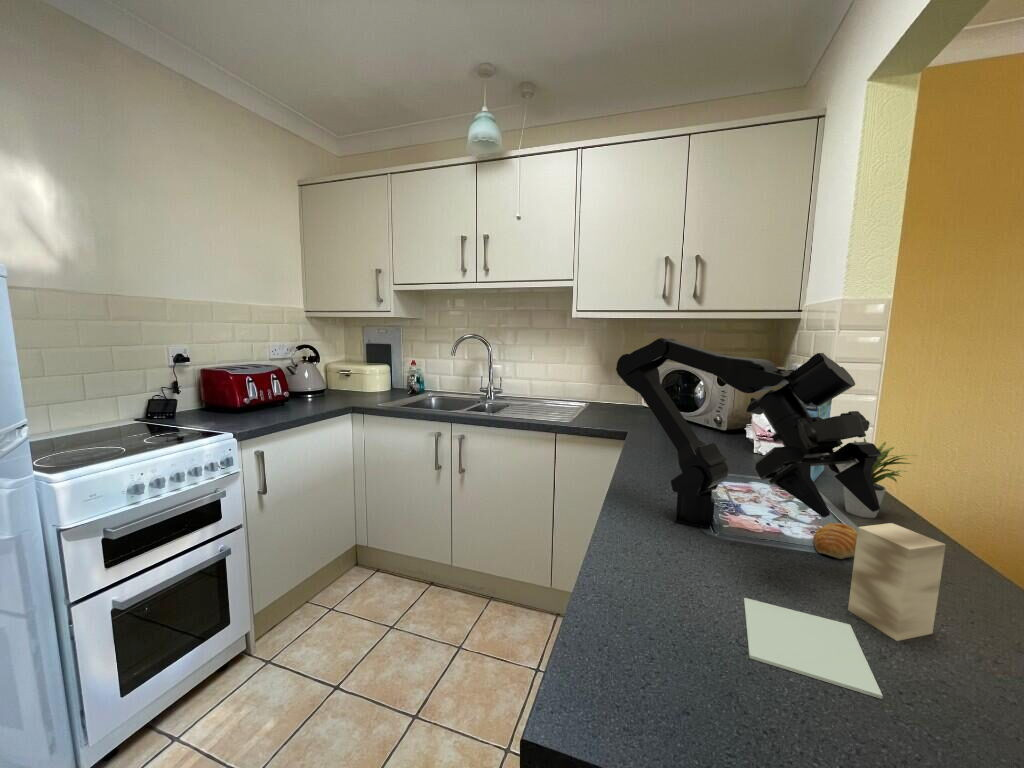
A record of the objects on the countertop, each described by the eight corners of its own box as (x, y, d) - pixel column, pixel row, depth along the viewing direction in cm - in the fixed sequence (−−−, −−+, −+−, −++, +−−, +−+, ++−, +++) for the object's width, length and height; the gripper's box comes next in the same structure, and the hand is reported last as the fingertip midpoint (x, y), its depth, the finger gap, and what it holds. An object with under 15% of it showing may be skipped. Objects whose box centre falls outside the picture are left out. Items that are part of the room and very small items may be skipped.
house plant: (891, 536, 79) (902, 452, 77) (808, 509, 91) (816, 436, 89) (916, 520, 87) (927, 443, 85) (837, 497, 99) (845, 429, 97)
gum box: (803, 467, 122) (811, 388, 119) (825, 471, 118) (834, 390, 115) (786, 482, 108) (795, 394, 105) (810, 488, 104) (819, 397, 102)
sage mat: (749, 658, 49) (749, 654, 49) (743, 600, 59) (744, 597, 59) (882, 699, 43) (882, 695, 43) (849, 627, 54) (850, 624, 54)
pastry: (853, 567, 69) (855, 545, 68) (804, 551, 74) (806, 530, 73) (864, 549, 75) (867, 528, 74) (819, 535, 80) (820, 516, 79)
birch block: (847, 610, 58) (858, 527, 56) (881, 604, 59) (891, 523, 58) (896, 641, 52) (909, 549, 50) (932, 633, 53) (945, 544, 52)
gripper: (777, 393, 61) (846, 495, 52) (875, 391, 65) (954, 484, 56) (732, 434, 69) (784, 527, 60) (821, 429, 74) (883, 515, 65)
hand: (852, 513), depth 60 cm, fingers open, 9 cm apart
